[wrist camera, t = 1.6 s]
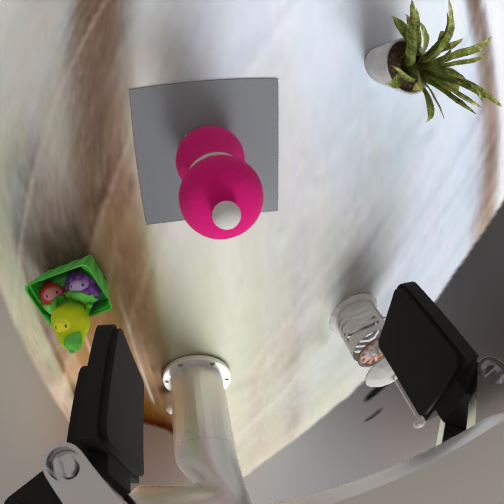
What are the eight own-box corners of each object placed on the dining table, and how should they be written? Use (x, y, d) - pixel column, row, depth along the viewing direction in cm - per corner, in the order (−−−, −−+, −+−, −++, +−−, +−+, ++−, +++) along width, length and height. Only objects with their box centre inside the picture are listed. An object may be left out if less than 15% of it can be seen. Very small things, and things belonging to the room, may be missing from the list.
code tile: (277, 78, 33) (278, 78, 33) (277, 210, 41) (277, 210, 41) (129, 89, 30) (129, 89, 30) (146, 224, 39) (146, 224, 39)
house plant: (433, 40, 32) (520, 46, 18) (418, 124, 38) (503, 155, 24) (351, 2, 28) (436, -24, 14) (334, 97, 35) (417, 114, 21)
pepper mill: (197, 191, 38) (208, 290, 21) (165, 142, 34) (142, 205, 17) (248, 161, 37) (305, 236, 20) (219, 110, 33) (253, 137, 16)
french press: (320, 315, 53) (384, 439, 31) (376, 277, 51) (461, 387, 30) (340, 342, 58) (396, 450, 36) (390, 309, 56) (460, 408, 35)
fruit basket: (95, 242, 38) (72, 293, 29) (123, 293, 43) (111, 350, 34) (35, 266, 38) (5, 316, 28) (63, 311, 43) (44, 364, 33)
